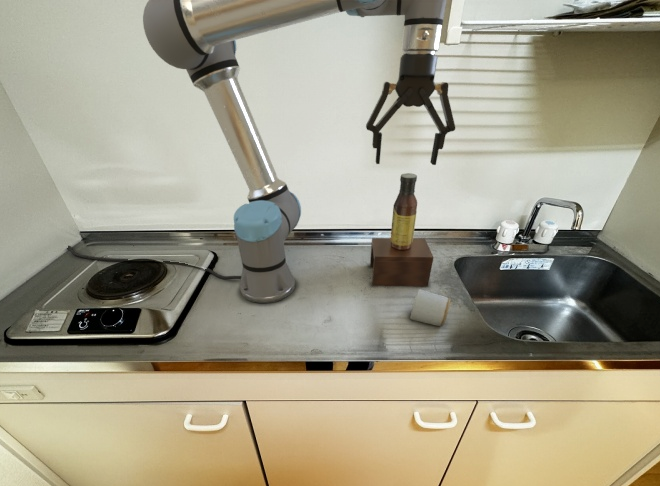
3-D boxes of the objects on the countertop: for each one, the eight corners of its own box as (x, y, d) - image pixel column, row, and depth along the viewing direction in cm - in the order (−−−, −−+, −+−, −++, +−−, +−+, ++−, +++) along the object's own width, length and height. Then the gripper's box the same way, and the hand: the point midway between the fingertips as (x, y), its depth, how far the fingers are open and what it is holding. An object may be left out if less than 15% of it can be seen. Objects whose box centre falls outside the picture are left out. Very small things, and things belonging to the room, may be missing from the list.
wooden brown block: (372, 285, 92) (374, 256, 86) (370, 265, 101) (371, 237, 96) (427, 286, 91) (433, 257, 86) (420, 265, 101) (424, 238, 95)
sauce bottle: (396, 239, 95) (405, 170, 83) (415, 245, 91) (426, 173, 80) (385, 247, 90) (392, 175, 79) (404, 253, 87) (414, 179, 76)
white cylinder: (442, 333, 75) (449, 307, 70) (408, 325, 77) (413, 299, 73) (447, 308, 83) (454, 283, 78) (416, 301, 85) (420, 277, 81)
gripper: (359, 52, 62) (354, 166, 75) (486, 53, 62) (460, 167, 74) (358, 53, 68) (354, 158, 81) (474, 55, 68) (452, 160, 80)
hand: (405, 163), depth 77 cm, fingers open, 13 cm apart
